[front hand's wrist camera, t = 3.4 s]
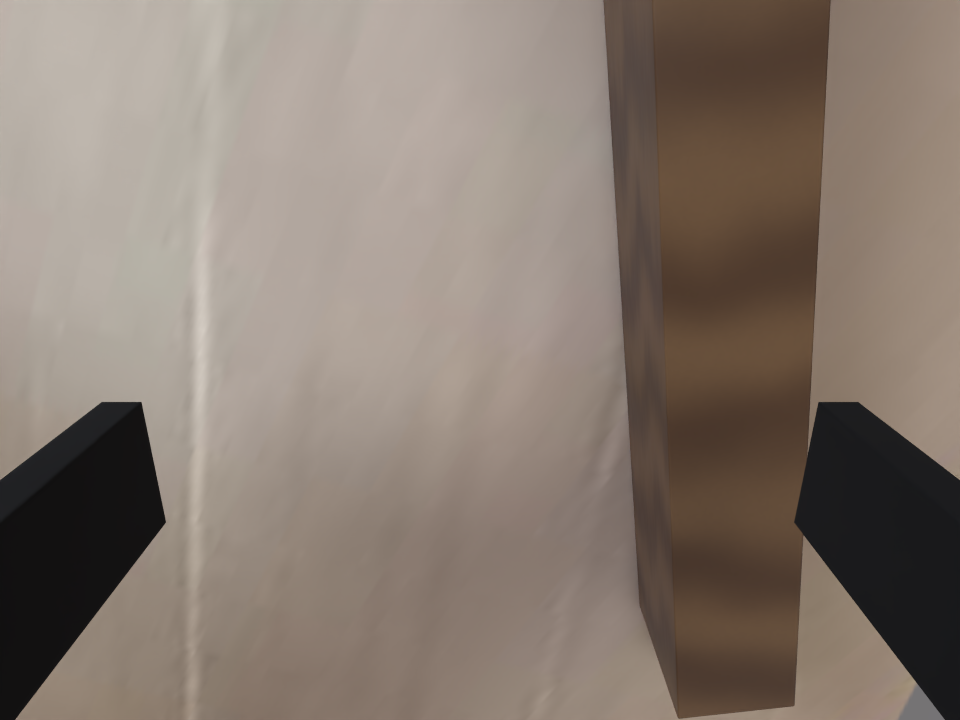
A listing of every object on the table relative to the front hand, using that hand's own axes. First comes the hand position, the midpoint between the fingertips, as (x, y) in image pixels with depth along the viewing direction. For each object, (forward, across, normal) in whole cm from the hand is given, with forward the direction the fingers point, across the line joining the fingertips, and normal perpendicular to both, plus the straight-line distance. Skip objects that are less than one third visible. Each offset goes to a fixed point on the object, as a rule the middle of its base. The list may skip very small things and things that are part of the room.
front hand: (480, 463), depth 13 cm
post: (+18, -8, -8) cm, 22 cm away
